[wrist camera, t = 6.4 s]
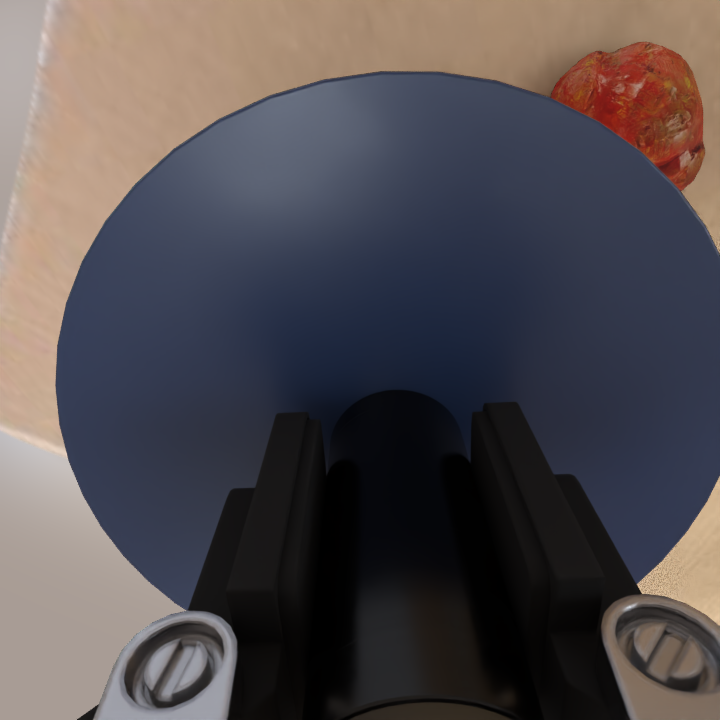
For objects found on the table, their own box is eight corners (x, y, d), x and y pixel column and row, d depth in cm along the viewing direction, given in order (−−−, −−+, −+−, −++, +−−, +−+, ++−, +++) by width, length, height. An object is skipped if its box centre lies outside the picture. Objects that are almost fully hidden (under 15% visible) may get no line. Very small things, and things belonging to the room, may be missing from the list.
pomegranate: (557, 36, 29) (463, 166, 26) (705, -51, 23) (604, 105, 19) (625, 148, 32) (548, 277, 29) (772, 99, 26) (694, 256, 22)
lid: (682, -56, 8) (1675, -546, 2) (730, 566, 14) (1052, 979, 7) (-54, 221, 10) (-745, 418, 4) (235, 677, 16) (144, 1083, 9)
